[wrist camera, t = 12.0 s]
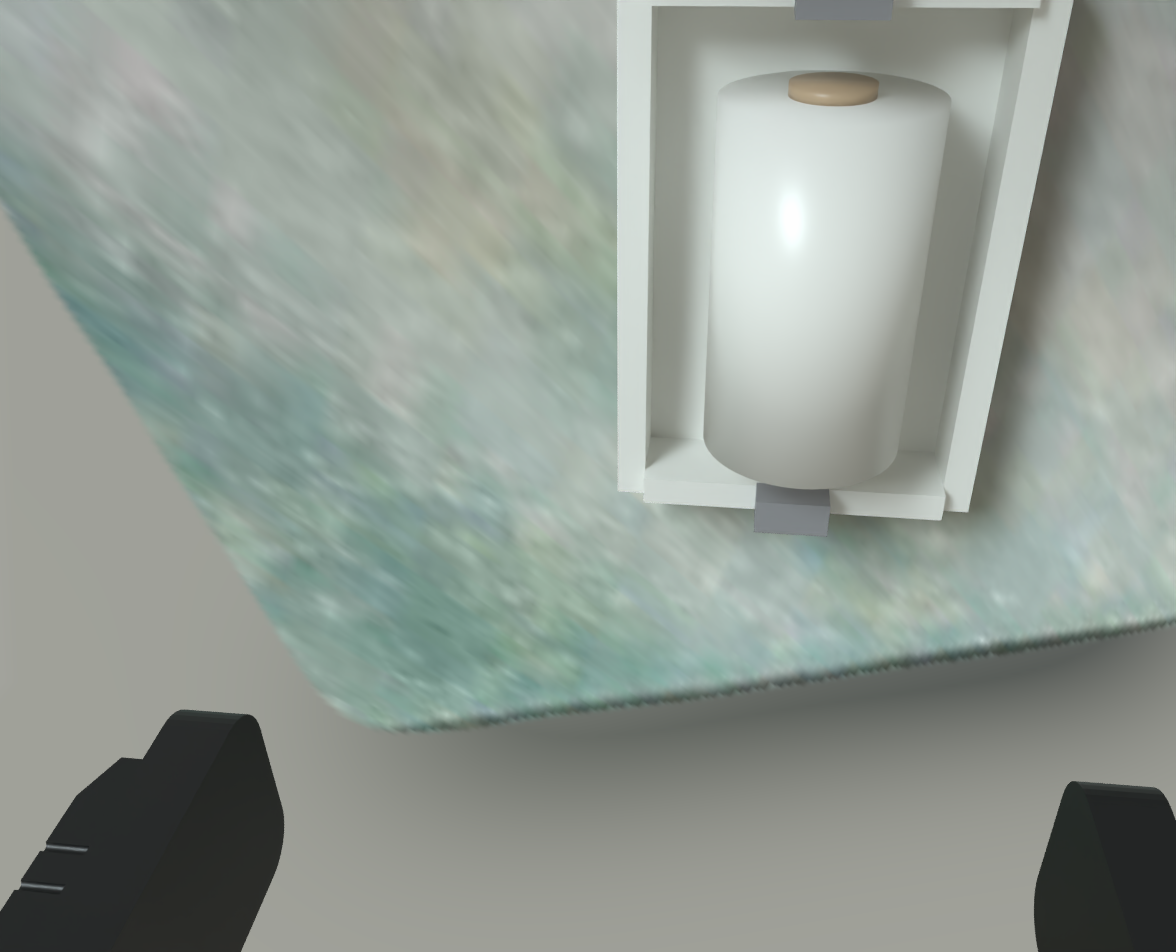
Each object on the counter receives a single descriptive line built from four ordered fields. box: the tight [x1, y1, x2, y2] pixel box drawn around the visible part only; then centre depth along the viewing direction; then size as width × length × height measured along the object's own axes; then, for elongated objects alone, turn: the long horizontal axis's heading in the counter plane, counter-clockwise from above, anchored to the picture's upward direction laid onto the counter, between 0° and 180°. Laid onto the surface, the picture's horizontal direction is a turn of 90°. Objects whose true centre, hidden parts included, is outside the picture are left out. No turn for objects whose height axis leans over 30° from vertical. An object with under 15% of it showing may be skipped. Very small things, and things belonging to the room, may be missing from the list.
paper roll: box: [703, 70, 951, 490], centre depth 27 cm, size 10×5×5 cm, turn 1°
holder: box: [617, 0, 1074, 537], centre depth 28 cm, size 14×10×4 cm
